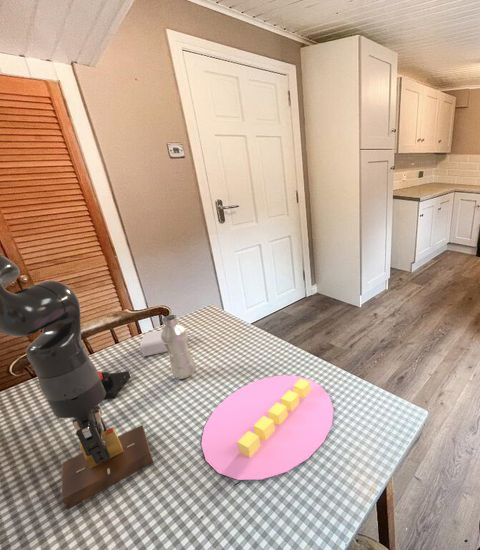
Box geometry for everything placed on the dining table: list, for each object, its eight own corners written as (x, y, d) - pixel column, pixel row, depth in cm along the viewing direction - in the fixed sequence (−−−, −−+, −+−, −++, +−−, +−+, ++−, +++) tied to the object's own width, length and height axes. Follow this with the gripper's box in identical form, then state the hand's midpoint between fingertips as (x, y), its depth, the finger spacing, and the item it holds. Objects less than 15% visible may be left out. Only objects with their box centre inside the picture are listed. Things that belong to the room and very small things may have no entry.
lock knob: (90, 468, 62) (79, 446, 60) (89, 463, 63) (79, 441, 61) (123, 452, 66) (114, 430, 63) (122, 447, 67) (113, 426, 64)
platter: (355, 396, 84) (355, 387, 83) (276, 509, 58) (274, 497, 56) (267, 364, 97) (266, 355, 96) (170, 443, 71) (167, 433, 70)
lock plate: (67, 509, 58) (61, 499, 57) (67, 472, 65) (62, 461, 63) (153, 462, 67) (149, 452, 65) (145, 433, 73) (142, 424, 72)
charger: (194, 346, 106) (143, 358, 101) (195, 333, 114) (148, 343, 108) (191, 335, 105) (139, 346, 99) (193, 322, 112) (145, 332, 107)
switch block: (64, 405, 82) (58, 394, 80) (85, 383, 90) (80, 372, 88) (114, 398, 84) (110, 387, 82) (130, 376, 92) (126, 366, 91)
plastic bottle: (193, 364, 97) (178, 309, 90) (200, 374, 93) (185, 318, 85) (170, 374, 93) (153, 317, 86) (176, 385, 89) (158, 326, 81)
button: (83, 386, 84) (81, 381, 83) (91, 377, 87) (89, 372, 86) (98, 384, 84) (96, 379, 84) (106, 375, 88) (104, 370, 87)
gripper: (47, 375, 60) (77, 435, 66) (42, 418, 50) (78, 483, 56) (96, 358, 64) (120, 416, 70) (101, 395, 54) (128, 458, 61)
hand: (101, 446), depth 63 cm, fingers open, 8 cm apart
